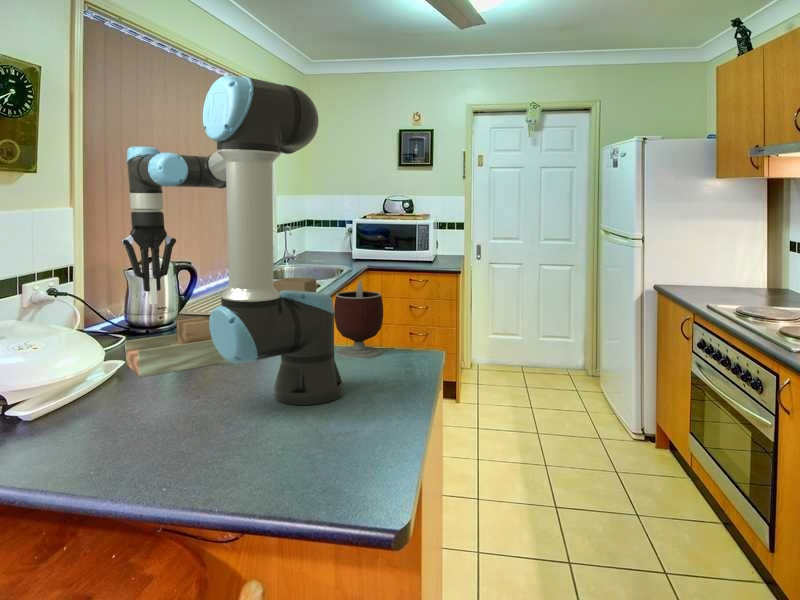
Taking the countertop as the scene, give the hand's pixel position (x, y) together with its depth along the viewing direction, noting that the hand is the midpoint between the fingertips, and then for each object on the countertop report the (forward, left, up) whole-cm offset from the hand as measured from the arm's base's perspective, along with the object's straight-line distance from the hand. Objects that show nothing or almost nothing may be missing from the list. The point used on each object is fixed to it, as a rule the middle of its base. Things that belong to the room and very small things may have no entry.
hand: (153, 303), depth 147 cm
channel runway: (0, -11, -17) cm, 20 cm away
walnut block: (0, -10, -13) cm, 16 cm away
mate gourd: (-20, -50, -17) cm, 57 cm away
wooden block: (-1, -40, -17) cm, 44 cm away
